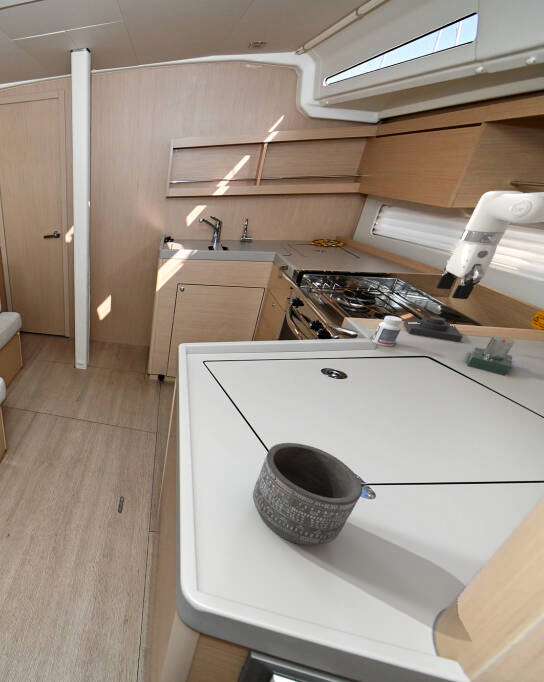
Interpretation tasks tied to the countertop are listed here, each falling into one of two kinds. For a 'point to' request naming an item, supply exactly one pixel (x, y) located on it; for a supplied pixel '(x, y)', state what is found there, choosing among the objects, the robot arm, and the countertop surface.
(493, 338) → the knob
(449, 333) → the housing
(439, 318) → the button
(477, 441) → the countertop surface
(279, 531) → the planter
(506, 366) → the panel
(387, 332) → the pill bottle
